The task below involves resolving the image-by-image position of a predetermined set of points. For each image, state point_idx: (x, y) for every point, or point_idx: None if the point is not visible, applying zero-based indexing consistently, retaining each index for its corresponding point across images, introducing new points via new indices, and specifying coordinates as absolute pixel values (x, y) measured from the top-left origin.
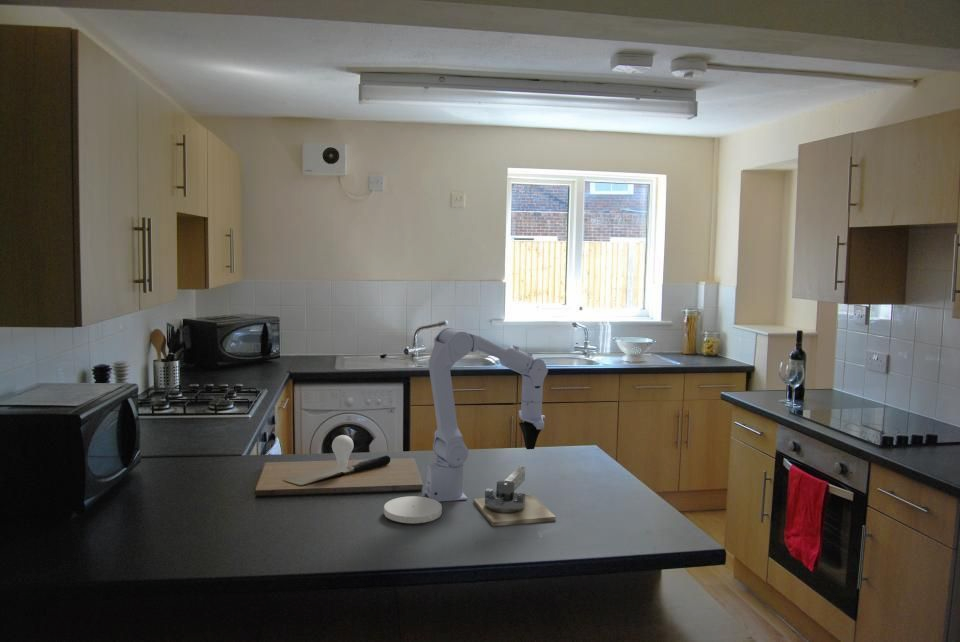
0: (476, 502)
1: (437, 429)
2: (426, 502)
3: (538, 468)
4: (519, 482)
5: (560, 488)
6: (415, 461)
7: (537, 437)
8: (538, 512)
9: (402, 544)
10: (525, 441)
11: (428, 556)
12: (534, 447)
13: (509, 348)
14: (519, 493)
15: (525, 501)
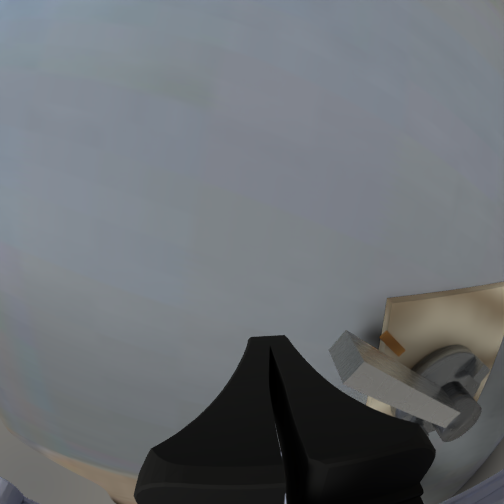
0: None
1: None
2: None
3: (64, 162)
4: (399, 366)
5: (320, 151)
6: (58, 453)
7: (325, 379)
8: (491, 316)
9: (442, 479)
10: (276, 424)
11: (480, 453)
12: (287, 339)
13: None
14: (474, 377)
15: (431, 334)
